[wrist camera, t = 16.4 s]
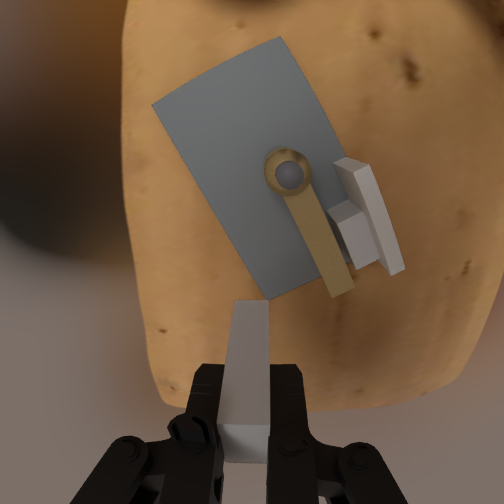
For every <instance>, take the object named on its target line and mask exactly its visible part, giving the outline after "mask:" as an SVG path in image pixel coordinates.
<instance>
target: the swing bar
mask: <svg viewBox="0 0 504 504" xmlns="http://www.w3.org/2000/svg"><path fill="white" fill-rule="evenodd" d="M284 161H293V162H295V163H297V164H298V165H299V166H300V167H301V168H302V169H303V171H304V180H303V183H302V184H301V185H300V186H299V187H298V188H296V189H293V190H288V189H284V188H283V187H281V186H280V185H279V184H278V182H277V180H276V176H275V172H276V168H277V167H278V165H279V164H281V163H282V162H284ZM263 170H264V176H265V180H266V183H267V185H268V186H269V188H270V189H271V190H272V191H273V192H275V193H277V194H279V195H281V196H283V198H284V200H285V202H286V204H287V206H288V208H289V210H290V212H291V214H292V216H293V218H294V220H295V222H296V224H297V226H298V228H299V230H300V232H301V234H302V236H303V238H304V240H305V242H306V244H307V246H308V249H309V251H310V253H311V255H312V257H313V259H314V261H315V263H316V265H317V267H318V270H319V272H320V274H321V276H322V278H323V280H324V282H325V285H326V287H327V289H328V291H329V293H330V296H331V298H334V297H336V296H338V295H341V294H343V293H345V292H347V291H349V290H351V289H353V288H355V285H354V283H353V280H352V278H351V275H350V273H349V270H348V268H347V265H346V263H345V260H344V258H343V255H342V253H341V251H340V248H339V246H338V244H337V241H336V239H335V237H334V234H333V232H332V230H331V228H330V225H329V223H328V221H327V219H326V216H325V214H324V212H323V210H322V208H321V205H320V203H319V201H318V199H317V197H316V195H315V192H314V190H313V188H312V186H311V184H310V181H311V177H312V169H311V165H310V163H309V161H308V160H307V158H306V157H305V156H304V155H302V154H301V153H299V152H297V151H295V150H293V149H291V148H289V147H284V146H280V147H275V148H273V149H271V150H270V151H269V152H268V153H267V154H266V156H265V158H264V161H263Z"/></svg>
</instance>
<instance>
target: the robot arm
mask: <svg viewBox="0 0 504 504" xmlns="http://www.w3.org/2000/svg"><path fill="white" fill-rule="evenodd" d="M304 394H305V393H304V387H303V377H302V373H301V371H300V370H299V368H298V367H297V366H296V364H270V357H269V304H268V300H235V302H234V309H233V315H232V322H231V329H230V335H229V342H228V349H227V355H226V362H225V365H224V364H202V365H201V366H200V367H199V368H198V370H197V371H196V372H195V375H194V379H193V383H192V387H191V391H190V395H189V399H188V403H187V408H186V412H185V413H183V414H181V415H178V416H176V417H175V418H174V419H172V420H171V421H170V423H169V425H168V427H167V428H168V431H169V433H170V435H171V438H169V439H166V440H162V441H155V442H146V443H145V442H144V441H142V440H141V439H140V438H138V437H134V436H123V437H120V438H118V439H116V440H115V441H114V442H113V443H112V444H111V446H110V447H109V448H108V450H107V451H106V453H105V454H104V455H103V457H102V458H101V460H100V461H99V463H98V464H97V465H96V467H95V468H94V470H93V471H92V473H91V474H90V475H89V477H88V478H87V480H86V481H85V482H84V484H83V485H82V487H81V488H80V490H79V491H78V492H77V494H76V495H75V497H74V498H73V500H72V501H71V502H70V504H221V501H222V492H223V481H224V473H223V464H224V461H225V462H229V463H259V464H260V463H262V464H263V463H265V464H267V481H266V485H267V492H266V493H267V496H266V504H319V499H318V496H323V497H325V499H326V501H327V504H408V503H407V501H406V499H405V497H404V495H403V494H402V492H401V490H400V488H399V487H398V485H397V483H396V481H395V480H394V478H393V476H392V474H391V472H390V471H389V469H388V467H387V465H386V464H385V462H384V460H383V458H382V456H381V455H380V453H379V451H378V450H377V449H376V448H375V447H374V446H372V445H370V444H368V443H363V442H356V443H351V444H349V445H348V446H346V447H344V448H341V447H336V446H330V445H326V444H323V443H321V442H319V441H317V440H316V439H315V438H314V437H313V436H312V435H311V433H310V431H309V427H308V419H307V410H306V401H305V395H304Z"/></svg>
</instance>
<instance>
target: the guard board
mask: <svg viewBox="0 0 504 504" xmlns="http://www.w3.org/2000/svg"><path fill="white" fill-rule="evenodd" d="M152 107H153V109H154V110H155V112H156V114H157V116H158V117H159V119H160V121H161V123H162V124H163V126H164V128H165V130H166V131H167V133H168V135H169V136H170V138H171V140H172V142H173V143H174V145H175V147H176V148H177V150H178V152H179V154H180V155H181V157H182V159H183V161H184V162H185V164H186V166H187V167H188V169H189V171H190V172H191V174H192V176H193V178H194V179H195V181H196V183H197V184H198V186H199V188H200V190H201V191H202V193H203V195H204V196H205V198H206V200H207V201H208V203H209V205H210V206H211V208H212V210H213V212H214V213H215V215H216V217H217V218H218V220H219V222H220V223H221V225H222V227H223V228H224V230H225V232H226V233H227V235H228V237H229V238H230V240H231V242H232V243H233V245H234V247H235V248H236V250H237V252H238V254H239V255H240V257H241V259H242V260H243V262H244V264H245V265H246V267H247V269H248V270H249V272H250V273H251V275H252V277H253V278H254V280H255V282H256V283H257V285H258V287H259V288H260V290H261V292H262V293H263V295H264V297H265V298H266V300H271V299H273V298H275V297H277V296H280V295H282V294H284V293H286V292H288V291H291V290H293V289H295V288H297V287H299V286H301V285H304V284H306V283H308V282H310V281H312V280H314V279H316V278H318V277H321V274H320V272H319V270H318V267H317V265H316V263H315V261H314V259H313V257H312V255H311V253H310V251H309V249H308V246H307V244H306V242H305V240H304V238H303V236H302V234H301V232H300V230H299V228H298V226H297V224H296V222H295V220H294V218H293V216H292V214H291V212H290V210H289V208H288V206H287V204H286V202H285V200H284V198H283V196H281V195H279V194H277V193H275V192H273V191H272V190H271V189H270V188H269V186H268V185H267V183H266V180H265V176H264V170H263V161H264V158H265V156H266V154H267V153H268V152H269V151H270V150H271V149H273V148H275V147H280V146H284V147H289V148H291V149H293V150H295V151H297V152H299V153H301V154H302V155H304V156H305V157H306V158H307V160H308V161H309V163H310V165H311V169H312V177H311V181H310V184H311V186H312V188H313V190H314V192H315V195H316V197H317V199H318V201H319V203H320V205H321V208H322V210H323V212H324V214H325V216H326V219H327V221H328V223H329V225H330V228H331V230H332V232H333V234H334V237H335V239H336V241H337V244H338V246H339V248H340V251H341V253H342V255H343V258H344V260H345V263H346V264H348V263H350V262H351V263H352V264H353V266H354V268H355V269H356V270H358V269H360V268H362V267H364V266H366V265H368V264H370V263H372V262H374V261H376V260H378V261H379V262H380V263H381V264H382V266H383V267H384V268H385V269H386V270H387V272H388V273H389V274H390V275H391V276H393V275H395V274H397V273H399V272H400V271H402V270H404V269H405V266H404V263H403V259H402V256H401V252H400V249H399V246H398V242H397V239H396V236H395V233H394V230H393V227H392V224H391V221H390V218H389V215H388V212H387V209H386V206H385V204H384V201H383V198H382V195H381V193H380V190H379V187H378V185H377V182H376V180H375V177H374V175H373V172H372V170H371V167H370V165H369V164H366V163H363V162H360V161H357V160H354V159H351V158H348V157H346V156H345V154H344V151H343V149H342V147H341V145H340V143H339V141H338V139H337V137H336V135H335V132H334V130H333V128H332V126H331V124H330V122H329V120H328V118H327V116H326V114H325V112H324V111H323V109H322V107H321V105H320V103H319V101H318V99H317V97H316V95H315V94H314V92H313V90H312V88H311V86H310V84H309V83H308V81H307V79H306V77H305V76H304V74H303V72H302V70H301V69H300V67H299V65H298V64H297V62H296V60H295V59H294V57H293V55H292V54H291V52H290V50H289V49H288V47H287V46H286V44H285V42H284V41H283V39H282V38H281V36H279V37H277V38H275V39H272V40H270V41H267V42H265V43H263V44H261V45H258V46H256V47H254V48H252V49H250V50H247V51H245V52H243V53H241V54H239V55H237V56H235V57H233V58H231V59H229V60H227V61H225V62H223V63H221V64H219V65H217V66H216V67H214V68H212V69H210V70H208V71H206V72H205V73H203V74H201V75H199V76H197V77H196V78H194V79H192V80H191V81H189V82H187V83H185V84H184V85H182V86H180V87H179V88H177V89H176V90H174V91H172V92H171V93H169V94H168V95H166V96H165V97H163V98H161V99H160V100H158V101H157V102H155V103H154V104H152ZM275 176H276V180H277V182H278V184H279V185H280V186H281V187H283V188H284V189H288V190H293V189H296V188H298V187H299V186H300V185H301V184H302V183H303V180H304V171H303V169H302V168H301V167H300V166H299V165H298V164H297V163H295V162H293V161H284V162H282V163H281V164H279V165H278V167H277V168H276V172H275Z"/></svg>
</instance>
